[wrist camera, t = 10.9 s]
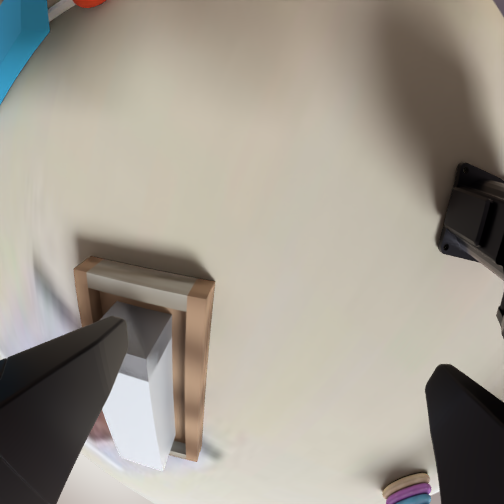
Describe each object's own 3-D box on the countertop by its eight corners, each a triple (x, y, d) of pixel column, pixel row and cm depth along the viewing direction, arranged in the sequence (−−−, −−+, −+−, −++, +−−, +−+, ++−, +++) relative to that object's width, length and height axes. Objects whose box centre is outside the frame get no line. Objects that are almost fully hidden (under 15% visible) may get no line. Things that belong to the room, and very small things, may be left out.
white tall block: (175, 434, 26) (163, 471, 21) (136, 423, 26) (120, 457, 21) (172, 314, 20) (146, 359, 15) (116, 301, 20) (82, 338, 16)
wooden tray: (91, 255, 20) (72, 268, 18) (215, 281, 20) (207, 299, 18) (120, 421, 28) (113, 436, 26) (201, 445, 28) (197, 462, 25)
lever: (22, 120, 21) (131, 7, 13) (-32, 134, 15) (52, -9, 7) (14, 71, 19) (117, -44, 11) (-36, 80, 13) (51, -62, 5)
